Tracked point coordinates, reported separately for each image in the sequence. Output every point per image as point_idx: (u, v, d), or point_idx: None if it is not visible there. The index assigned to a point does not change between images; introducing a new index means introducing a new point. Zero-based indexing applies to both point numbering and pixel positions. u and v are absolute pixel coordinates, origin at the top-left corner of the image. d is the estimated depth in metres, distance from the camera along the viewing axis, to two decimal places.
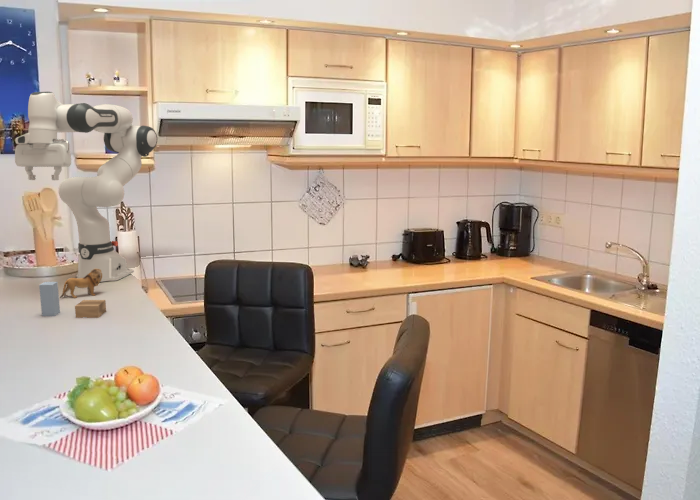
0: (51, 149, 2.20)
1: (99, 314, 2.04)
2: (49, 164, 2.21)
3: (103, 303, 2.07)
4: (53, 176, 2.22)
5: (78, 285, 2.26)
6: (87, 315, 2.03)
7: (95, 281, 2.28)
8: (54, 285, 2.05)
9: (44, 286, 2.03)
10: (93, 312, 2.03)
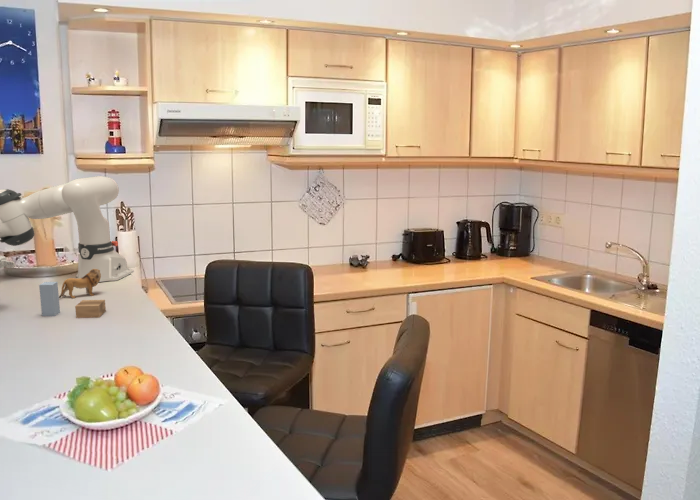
0: None
1: (100, 314, 2.04)
2: None
3: (102, 303, 2.08)
4: (9, 261, 2.08)
5: (77, 285, 2.26)
6: (88, 315, 2.03)
7: (94, 281, 2.28)
8: (54, 285, 2.05)
9: (44, 286, 2.03)
10: (94, 312, 2.03)
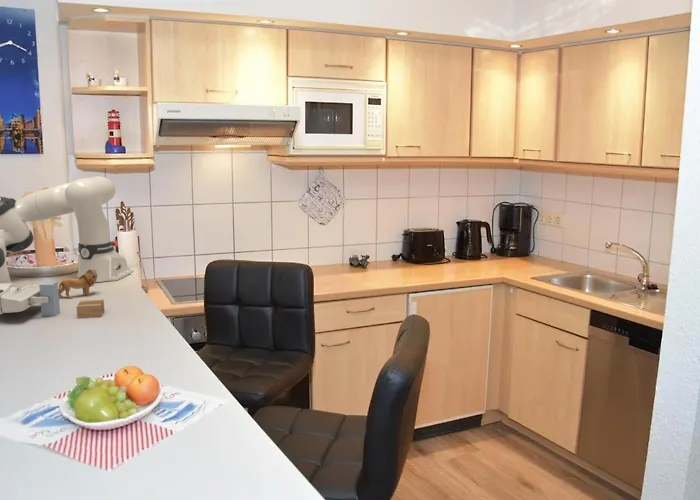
0: (25, 287, 2.10)
1: (101, 313, 2.05)
2: None
3: (102, 303, 2.08)
4: None
5: (73, 286, 2.25)
6: (89, 315, 2.03)
7: (90, 281, 2.28)
8: (54, 285, 2.05)
9: (44, 286, 2.03)
10: (96, 312, 2.04)
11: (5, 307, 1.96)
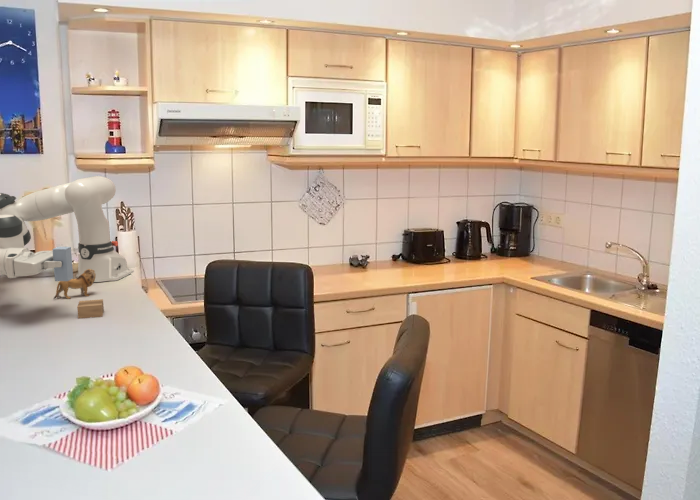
0: (38, 253, 2.07)
1: (102, 313, 2.05)
2: None
3: (102, 302, 2.08)
4: None
5: (72, 286, 2.25)
6: (90, 315, 2.03)
7: (89, 282, 2.27)
8: (67, 250, 2.02)
9: (57, 250, 2.00)
10: (96, 311, 2.04)
11: (18, 270, 1.94)
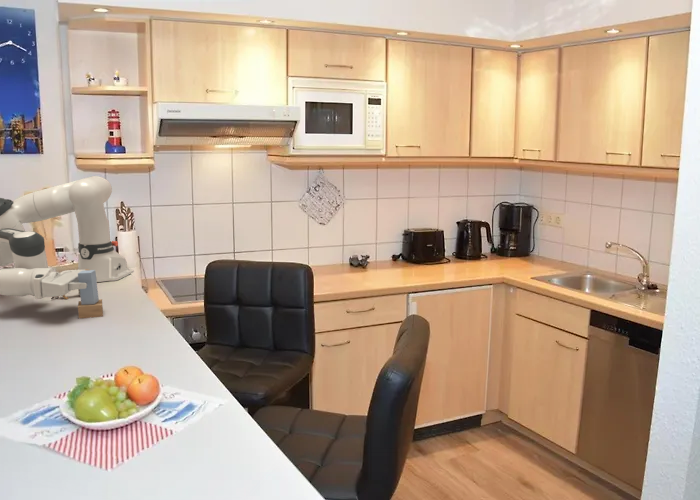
0: (63, 272, 2.09)
1: (102, 313, 2.06)
2: None
3: None
4: None
5: None
6: (91, 315, 2.04)
7: None
8: (92, 273, 2.04)
9: (83, 274, 2.02)
10: (97, 311, 2.04)
11: (45, 291, 1.95)
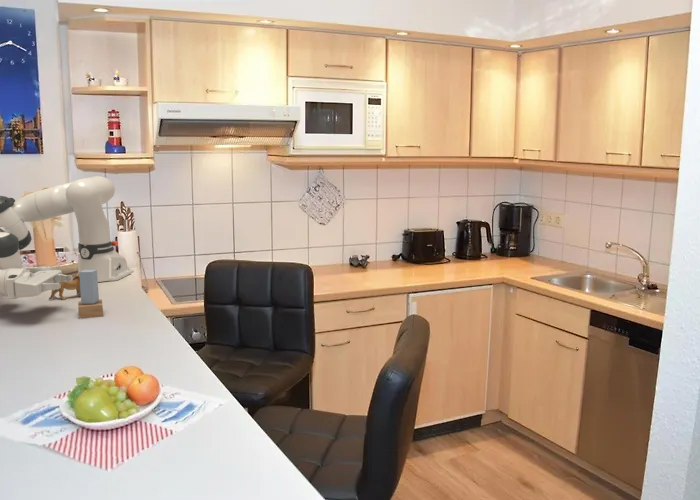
0: (38, 273, 2.08)
1: None
2: (53, 273, 2.08)
3: None
4: (67, 275, 2.09)
5: (67, 287, 2.24)
6: (91, 315, 2.04)
7: None
8: (94, 272, 2.05)
9: (84, 273, 2.03)
10: (97, 311, 2.04)
11: (19, 292, 1.95)
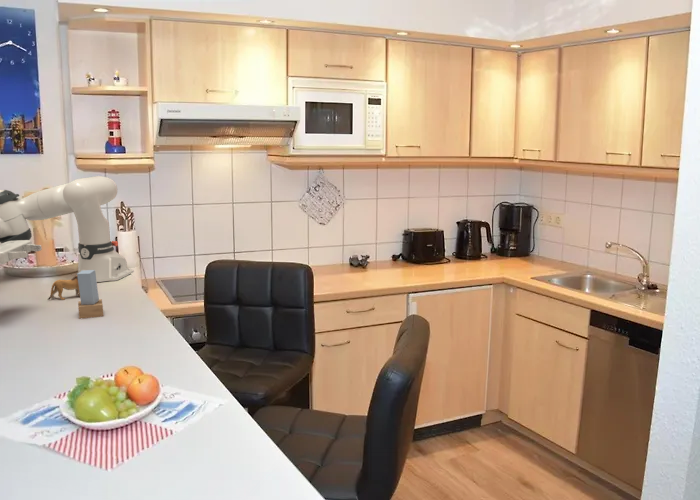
0: (6, 243, 2.06)
1: None
2: (22, 243, 2.05)
3: None
4: (36, 245, 2.06)
5: (66, 287, 2.24)
6: (91, 315, 2.04)
7: None
8: (92, 273, 2.03)
9: (82, 275, 2.02)
10: (98, 311, 2.04)
11: None
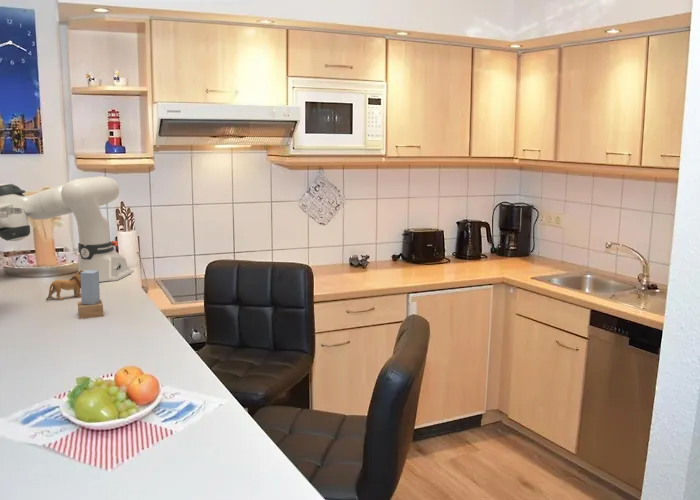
0: None
1: None
2: (2, 205, 2.05)
3: (101, 302, 2.09)
4: (17, 207, 2.06)
5: (64, 287, 2.23)
6: (91, 315, 2.04)
7: None
8: (95, 274, 2.04)
9: (85, 274, 2.03)
10: (98, 311, 2.04)
11: None
